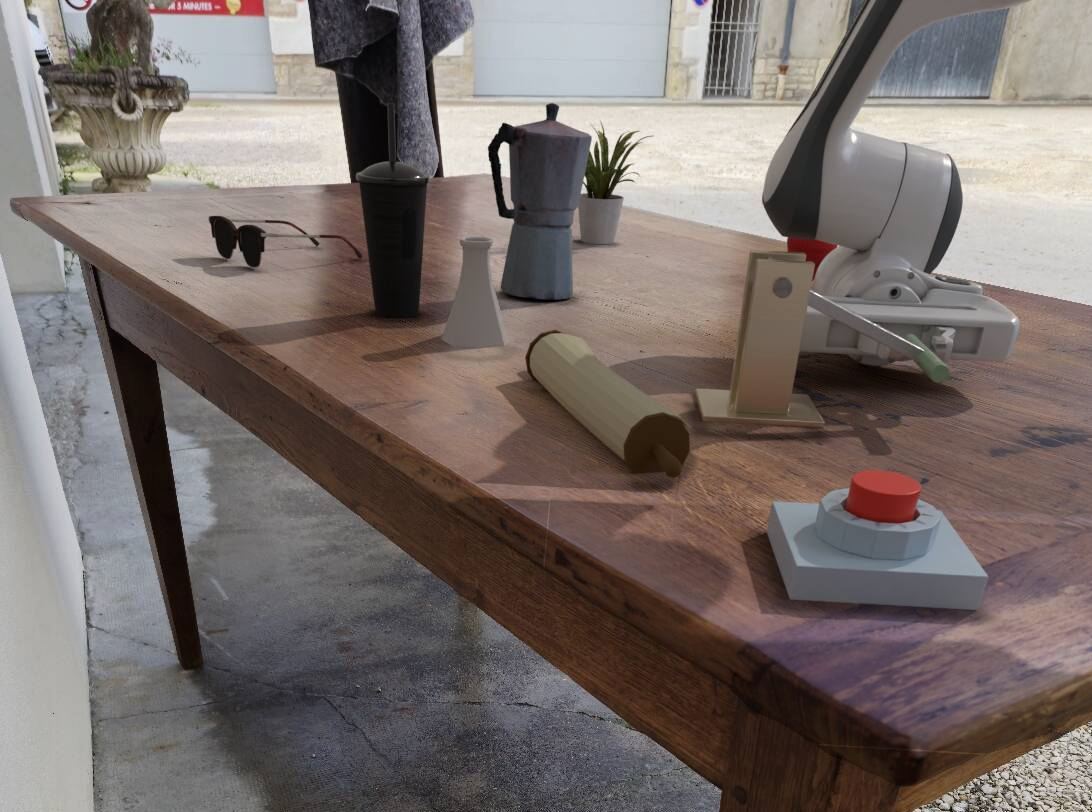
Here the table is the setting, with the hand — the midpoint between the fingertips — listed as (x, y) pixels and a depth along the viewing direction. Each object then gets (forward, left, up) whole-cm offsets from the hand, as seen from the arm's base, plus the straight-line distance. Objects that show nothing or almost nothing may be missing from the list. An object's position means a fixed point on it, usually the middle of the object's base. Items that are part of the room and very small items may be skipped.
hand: (917, 350), depth 88 cm
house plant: (+25, -85, -6) cm, 89 cm away
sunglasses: (+68, -59, -6) cm, 90 cm away
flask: (+39, -17, -6) cm, 43 cm away
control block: (+10, +32, -6) cm, 34 cm away
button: (+10, +32, -2) cm, 34 cm away
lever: (+7, +2, +2) cm, 8 cm away
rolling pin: (+27, +7, -6) cm, 28 cm away
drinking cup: (+49, -30, -6) cm, 58 cm away
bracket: (+13, +2, -6) cm, 14 cm away
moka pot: (+34, -43, -6) cm, 55 cm away
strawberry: (-1, -57, -6) cm, 57 cm away
